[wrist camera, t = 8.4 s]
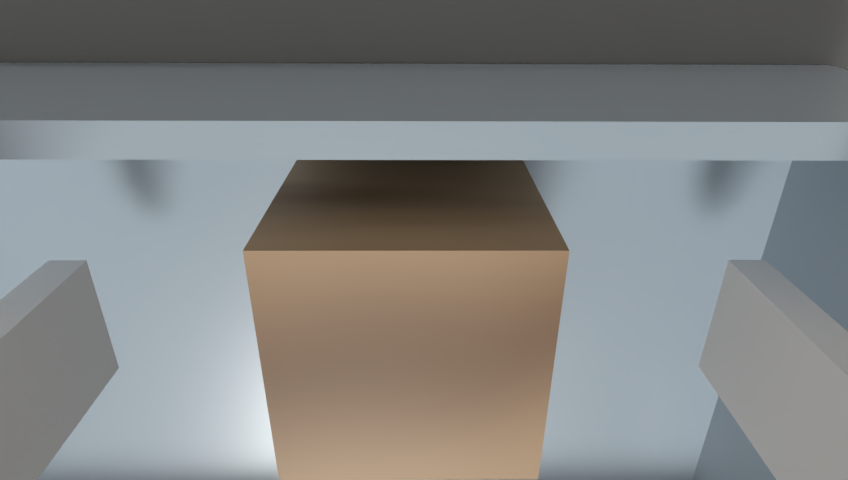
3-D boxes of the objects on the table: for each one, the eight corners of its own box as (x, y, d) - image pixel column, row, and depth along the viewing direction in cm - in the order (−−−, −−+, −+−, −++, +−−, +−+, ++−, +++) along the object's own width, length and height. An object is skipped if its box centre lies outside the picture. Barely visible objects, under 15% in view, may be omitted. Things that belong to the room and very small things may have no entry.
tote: (830, 64, 13) (1048, 122, 8) (675, 549, 21) (746, 713, 16) (-285, 61, 13) (-672, 118, 8) (-18, 553, 20) (-141, 721, 16)
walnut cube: (503, 327, 15) (538, 479, 11) (319, 327, 15) (279, 480, 11) (517, 150, 13) (569, 250, 9) (302, 150, 13) (242, 251, 9)
